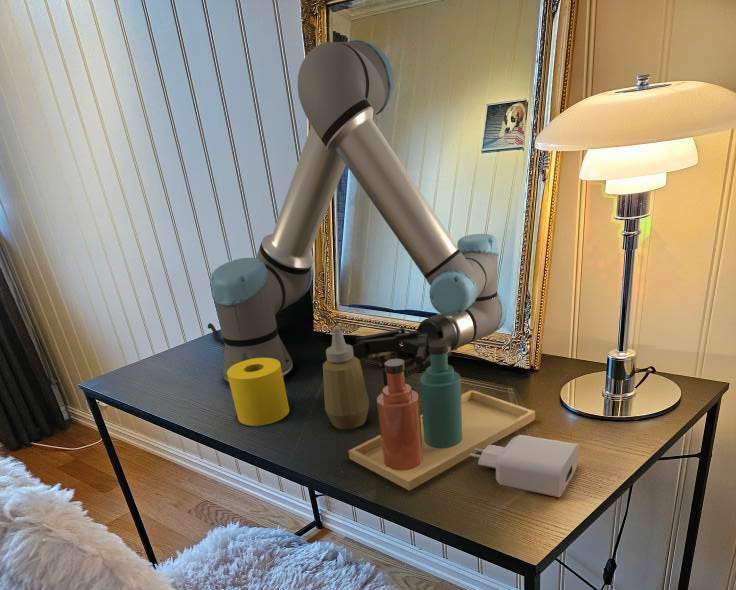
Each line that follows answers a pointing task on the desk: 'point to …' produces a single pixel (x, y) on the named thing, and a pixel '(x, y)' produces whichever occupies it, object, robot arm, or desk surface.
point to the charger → (532, 464)
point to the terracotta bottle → (399, 420)
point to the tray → (479, 429)
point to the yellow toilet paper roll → (258, 391)
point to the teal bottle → (441, 400)
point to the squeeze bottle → (344, 385)
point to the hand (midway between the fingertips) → (359, 369)
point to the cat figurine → (383, 357)
